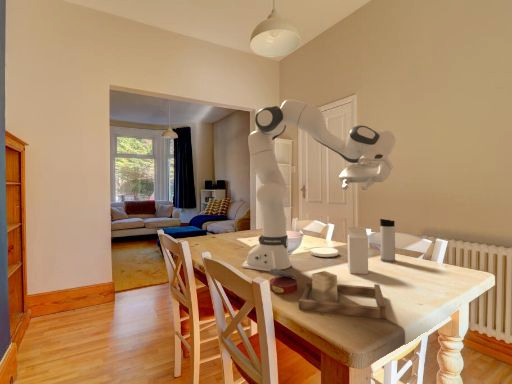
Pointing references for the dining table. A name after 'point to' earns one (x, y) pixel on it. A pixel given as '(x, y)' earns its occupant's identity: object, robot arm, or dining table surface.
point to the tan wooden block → (324, 286)
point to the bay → (348, 309)
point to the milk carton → (357, 250)
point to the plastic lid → (324, 252)
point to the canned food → (282, 282)
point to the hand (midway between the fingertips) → (353, 188)
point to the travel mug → (387, 240)
